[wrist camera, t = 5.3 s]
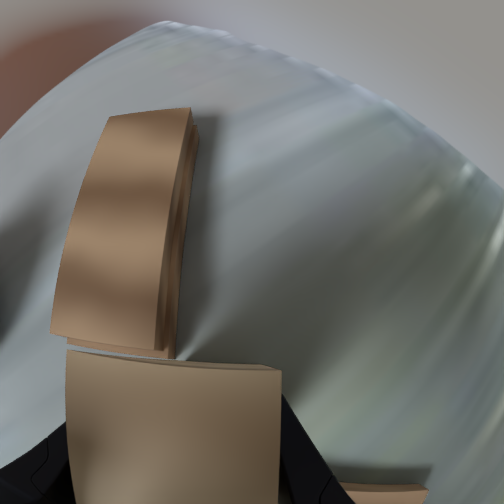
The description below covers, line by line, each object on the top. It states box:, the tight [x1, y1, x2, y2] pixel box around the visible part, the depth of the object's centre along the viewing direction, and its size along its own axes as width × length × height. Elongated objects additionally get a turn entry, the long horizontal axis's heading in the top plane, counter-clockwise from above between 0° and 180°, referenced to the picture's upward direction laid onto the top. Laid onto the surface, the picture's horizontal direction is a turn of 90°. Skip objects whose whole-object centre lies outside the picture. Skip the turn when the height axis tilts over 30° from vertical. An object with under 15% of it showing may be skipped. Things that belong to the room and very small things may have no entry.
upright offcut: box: [65, 350, 282, 504], centre depth 10 cm, size 5×4×12 cm
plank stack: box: [50, 107, 199, 359], centre depth 18 cm, size 17×7×3 cm, turn 179°
